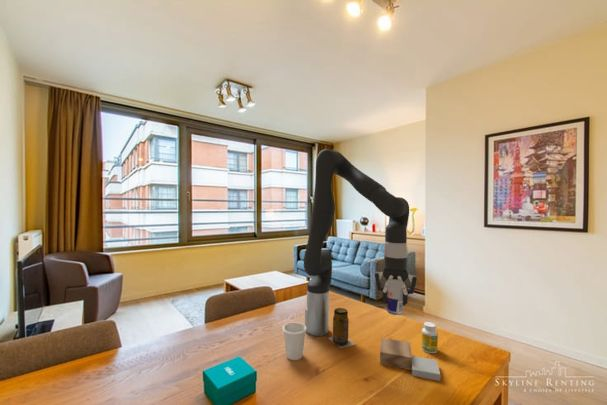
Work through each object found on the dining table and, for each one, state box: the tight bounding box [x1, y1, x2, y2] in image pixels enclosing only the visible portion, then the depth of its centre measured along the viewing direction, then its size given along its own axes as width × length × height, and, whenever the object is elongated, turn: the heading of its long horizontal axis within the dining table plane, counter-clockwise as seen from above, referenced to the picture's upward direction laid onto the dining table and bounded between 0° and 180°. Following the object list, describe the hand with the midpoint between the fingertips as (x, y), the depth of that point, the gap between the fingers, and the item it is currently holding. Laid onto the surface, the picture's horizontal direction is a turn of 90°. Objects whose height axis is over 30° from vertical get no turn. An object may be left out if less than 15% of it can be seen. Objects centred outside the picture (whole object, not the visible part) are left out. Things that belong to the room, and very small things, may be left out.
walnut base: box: [379, 337, 413, 371], centre depth 96 cm, size 10×10×4 cm
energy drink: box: [386, 279, 404, 316], centre depth 95 cm, size 5×5×12 cm
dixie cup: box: [282, 321, 307, 361], centre depth 97 cm, size 8×8×10 cm
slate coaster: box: [411, 355, 441, 382], centre depth 89 cm, size 8×8×2 cm
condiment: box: [327, 307, 356, 349], centre depth 107 cm, size 7×8×12 cm
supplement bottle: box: [421, 321, 439, 354], centre depth 101 cm, size 5×5×10 cm
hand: (395, 303), depth 95 cm, fingers closed on energy drink, 5 cm apart
